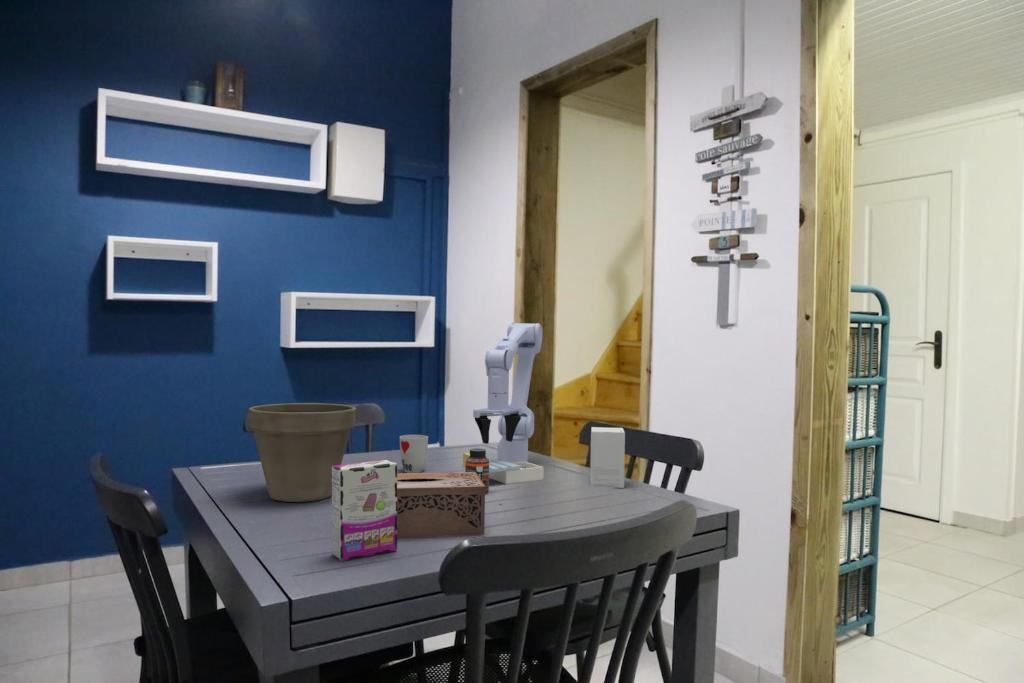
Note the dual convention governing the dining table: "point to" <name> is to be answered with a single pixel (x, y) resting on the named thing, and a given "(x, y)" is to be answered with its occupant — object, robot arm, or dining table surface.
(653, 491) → the dining table surface
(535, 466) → the tub
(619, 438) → the supplement box
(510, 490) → the dining table surface
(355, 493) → the candy bar box
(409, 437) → the cup
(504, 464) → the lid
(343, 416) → the plant pot
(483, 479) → the supplement bottle
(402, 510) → the tissue box cover
